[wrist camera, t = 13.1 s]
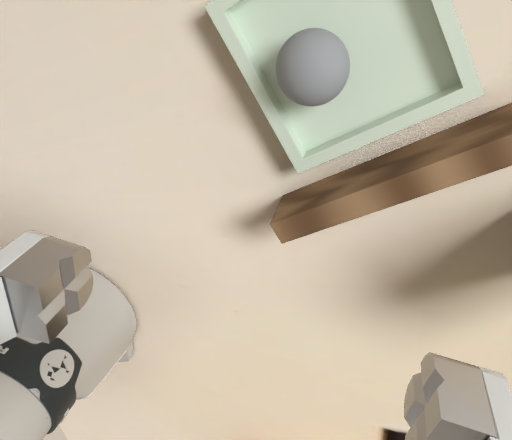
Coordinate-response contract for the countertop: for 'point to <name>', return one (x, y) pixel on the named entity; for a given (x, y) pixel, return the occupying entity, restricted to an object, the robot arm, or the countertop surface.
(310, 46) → the ball
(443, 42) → the dish
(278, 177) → the countertop surface
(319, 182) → the rail
